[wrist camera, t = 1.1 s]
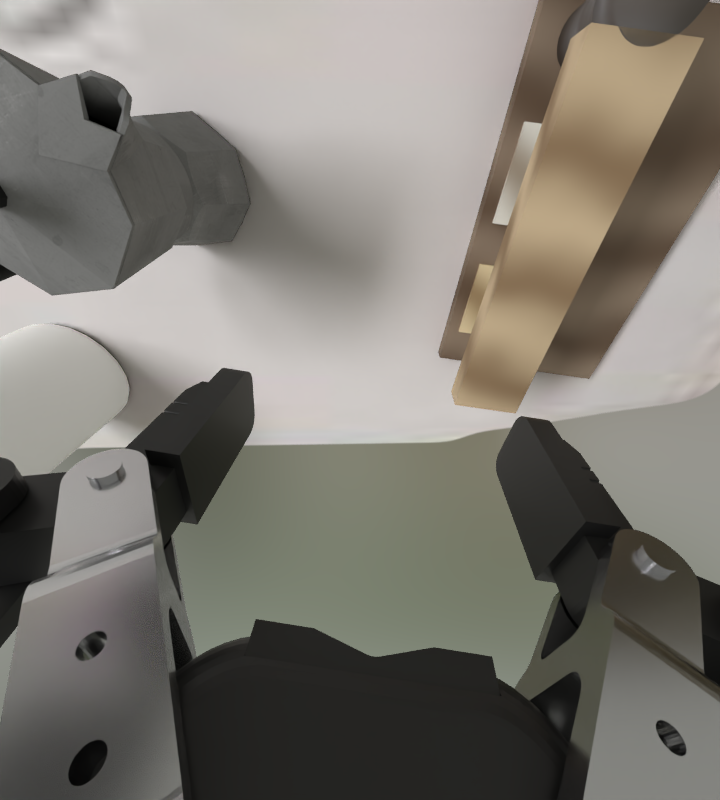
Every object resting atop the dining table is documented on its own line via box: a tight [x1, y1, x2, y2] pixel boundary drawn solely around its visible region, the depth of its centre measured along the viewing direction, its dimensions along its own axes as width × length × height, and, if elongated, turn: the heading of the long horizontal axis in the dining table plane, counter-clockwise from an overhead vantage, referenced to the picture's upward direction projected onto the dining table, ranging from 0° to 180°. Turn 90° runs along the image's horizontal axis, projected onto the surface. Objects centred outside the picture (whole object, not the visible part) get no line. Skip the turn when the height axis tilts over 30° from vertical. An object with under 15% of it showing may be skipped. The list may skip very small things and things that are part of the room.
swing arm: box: [451, 0, 709, 413], centre depth 20 cm, size 24×5×2 cm, turn 173°
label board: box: [439, 0, 720, 379], centre depth 23 cm, size 24×15×6 cm, turn 173°
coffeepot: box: [0, 49, 250, 295], centre depth 19 cm, size 15×9×18 cm, turn 119°
